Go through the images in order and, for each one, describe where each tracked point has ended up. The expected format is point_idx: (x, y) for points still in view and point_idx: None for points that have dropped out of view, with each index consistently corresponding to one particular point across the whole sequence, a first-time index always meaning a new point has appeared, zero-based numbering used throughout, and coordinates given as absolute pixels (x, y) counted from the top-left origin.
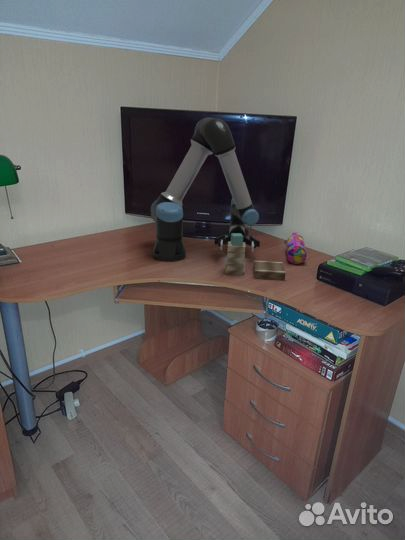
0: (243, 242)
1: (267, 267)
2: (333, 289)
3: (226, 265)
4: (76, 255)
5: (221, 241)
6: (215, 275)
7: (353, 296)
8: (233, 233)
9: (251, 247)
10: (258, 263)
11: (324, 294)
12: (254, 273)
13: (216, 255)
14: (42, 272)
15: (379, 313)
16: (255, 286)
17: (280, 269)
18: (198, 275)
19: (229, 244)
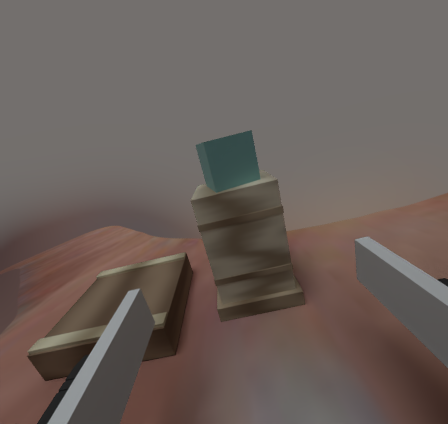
0: (199, 198)
1: (134, 286)
2: (30, 290)
3: (295, 285)
4: None
5: (434, 283)
6: (307, 248)
7: (24, 279)
8: (240, 133)
9: (117, 410)
10: (153, 307)
11: (73, 267)
12: (187, 276)
13: None
14: None
15: (48, 253)
16: (197, 246)
17: (98, 288)
18: (353, 233)
19: (260, 174)
